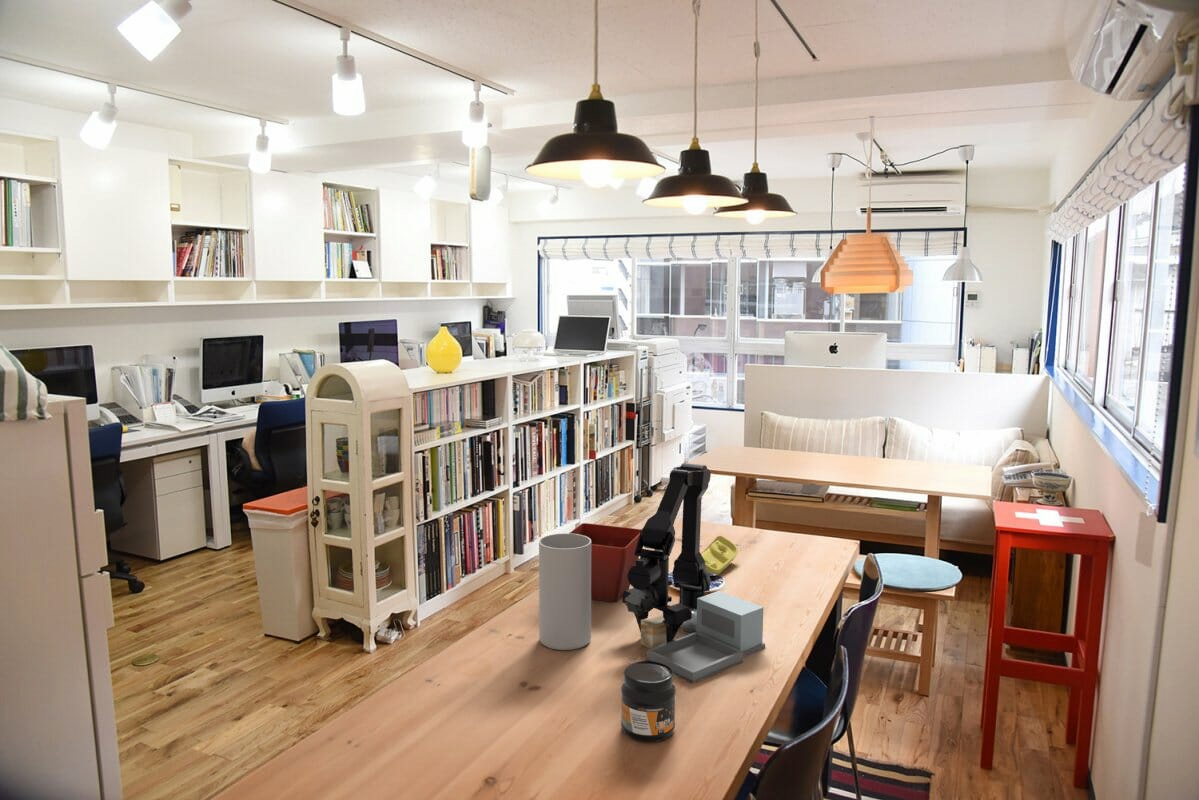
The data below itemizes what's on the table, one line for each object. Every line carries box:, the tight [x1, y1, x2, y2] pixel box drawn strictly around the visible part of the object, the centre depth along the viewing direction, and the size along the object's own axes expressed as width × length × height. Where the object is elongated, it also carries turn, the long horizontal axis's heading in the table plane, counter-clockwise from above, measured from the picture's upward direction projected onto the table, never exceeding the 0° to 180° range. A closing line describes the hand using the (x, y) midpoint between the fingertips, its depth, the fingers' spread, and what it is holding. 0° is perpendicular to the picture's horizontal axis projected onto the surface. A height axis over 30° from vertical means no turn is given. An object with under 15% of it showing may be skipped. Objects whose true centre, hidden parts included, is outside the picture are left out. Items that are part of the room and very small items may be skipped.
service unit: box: [696, 590, 766, 658], centre depth 202 cm, size 15×9×10 cm, turn 40°
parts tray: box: [646, 632, 744, 684], centre depth 192 cm, size 15×17×2 cm
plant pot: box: [569, 522, 642, 603], centre depth 235 cm, size 19×19×17 cm
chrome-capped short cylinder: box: [680, 608, 697, 635], centre depth 210 cm, size 4×4×5 cm
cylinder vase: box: [538, 532, 592, 651], centre depth 202 cm, size 12×12×25 cm
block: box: [640, 613, 667, 649], centre depth 202 cm, size 4×6×6 cm
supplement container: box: [620, 660, 677, 743], centre depth 162 cm, size 10×10×12 cm
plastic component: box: [700, 534, 739, 576], centre depth 258 cm, size 20×7×10 cm
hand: (655, 638), depth 202 cm, fingers open, 9 cm apart
